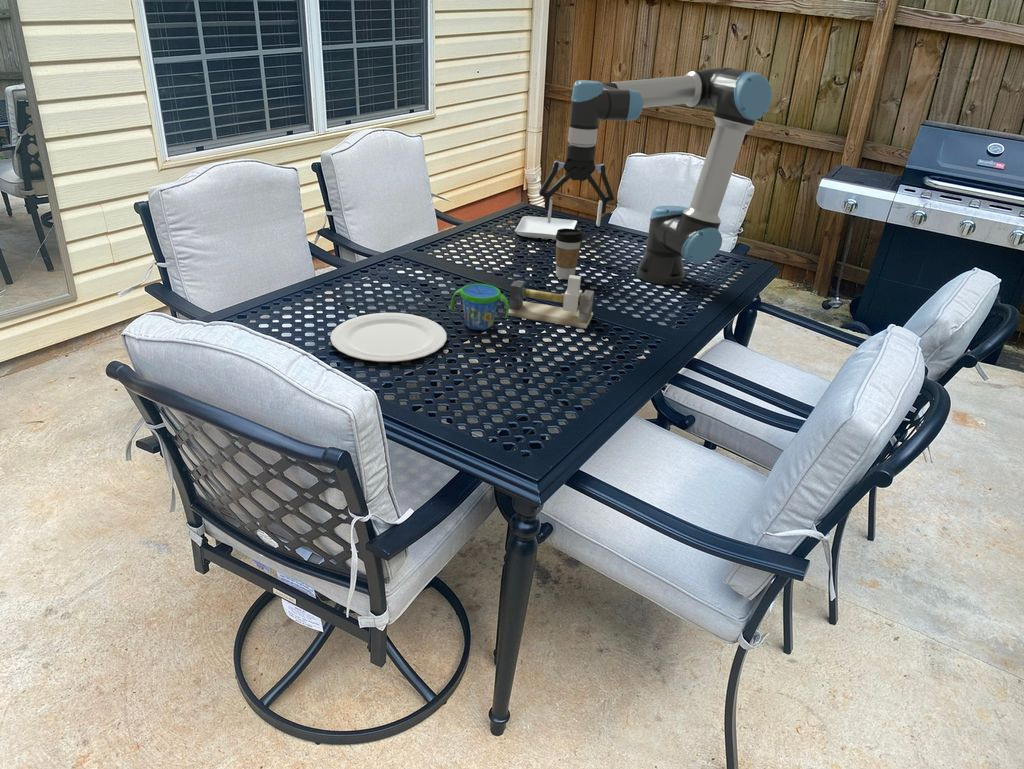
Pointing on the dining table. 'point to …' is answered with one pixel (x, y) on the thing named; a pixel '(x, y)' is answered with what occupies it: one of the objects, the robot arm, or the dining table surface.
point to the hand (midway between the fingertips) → (573, 223)
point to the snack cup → (479, 305)
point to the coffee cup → (567, 252)
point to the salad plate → (542, 227)
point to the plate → (388, 337)
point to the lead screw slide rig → (549, 307)
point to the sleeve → (572, 294)
